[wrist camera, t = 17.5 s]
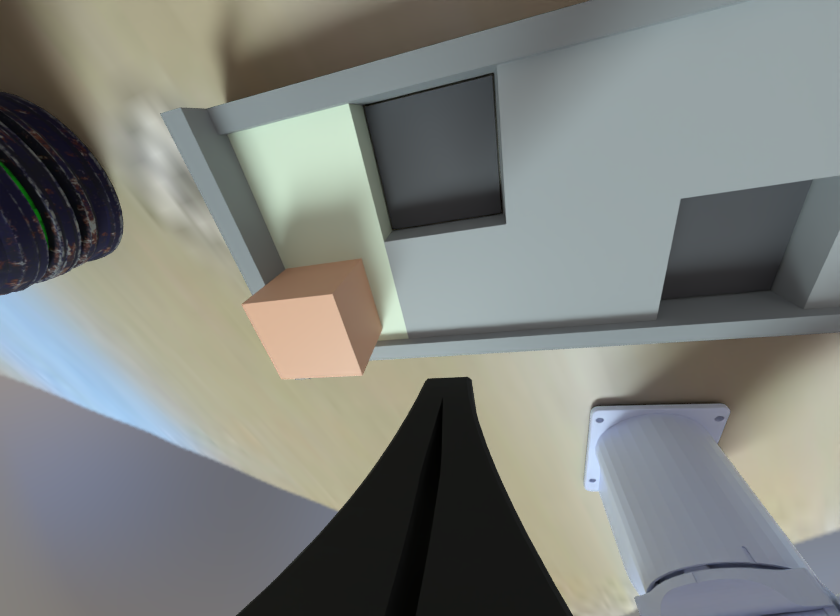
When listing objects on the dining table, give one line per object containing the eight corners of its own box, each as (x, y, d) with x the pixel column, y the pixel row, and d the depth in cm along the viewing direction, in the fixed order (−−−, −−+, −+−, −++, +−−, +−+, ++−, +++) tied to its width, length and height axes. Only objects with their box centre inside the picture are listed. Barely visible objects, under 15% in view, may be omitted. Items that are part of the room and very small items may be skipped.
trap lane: (910, 294, 15) (1033, 343, 12) (322, 340, 23) (295, 379, 19) (1190, -148, 9) (1645, -318, 5) (227, 115, 16) (160, 113, 12)
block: (382, 329, 19) (362, 375, 15) (314, 334, 20) (281, 379, 16) (361, 258, 17) (332, 294, 13) (286, 268, 18) (241, 304, 14)
